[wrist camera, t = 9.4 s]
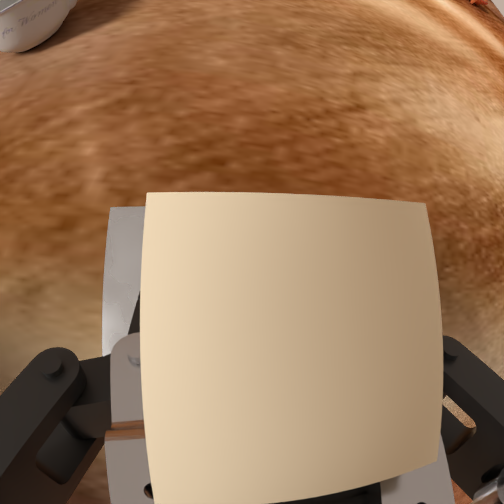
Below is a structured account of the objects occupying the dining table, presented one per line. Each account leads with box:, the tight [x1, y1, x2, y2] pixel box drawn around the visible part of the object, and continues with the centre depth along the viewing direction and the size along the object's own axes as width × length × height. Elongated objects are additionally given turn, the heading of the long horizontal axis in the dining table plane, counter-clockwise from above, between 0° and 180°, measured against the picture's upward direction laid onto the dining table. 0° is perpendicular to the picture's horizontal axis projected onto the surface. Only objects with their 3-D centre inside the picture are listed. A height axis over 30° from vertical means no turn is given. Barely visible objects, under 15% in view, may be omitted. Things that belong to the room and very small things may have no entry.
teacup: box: [0, 0, 78, 52], centre depth 20 cm, size 14×11×8 cm
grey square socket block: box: [102, 207, 146, 356], centre depth 16 cm, size 12×12×5 cm
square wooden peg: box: [140, 192, 443, 504], centre depth 9 cm, size 3×3×12 cm
